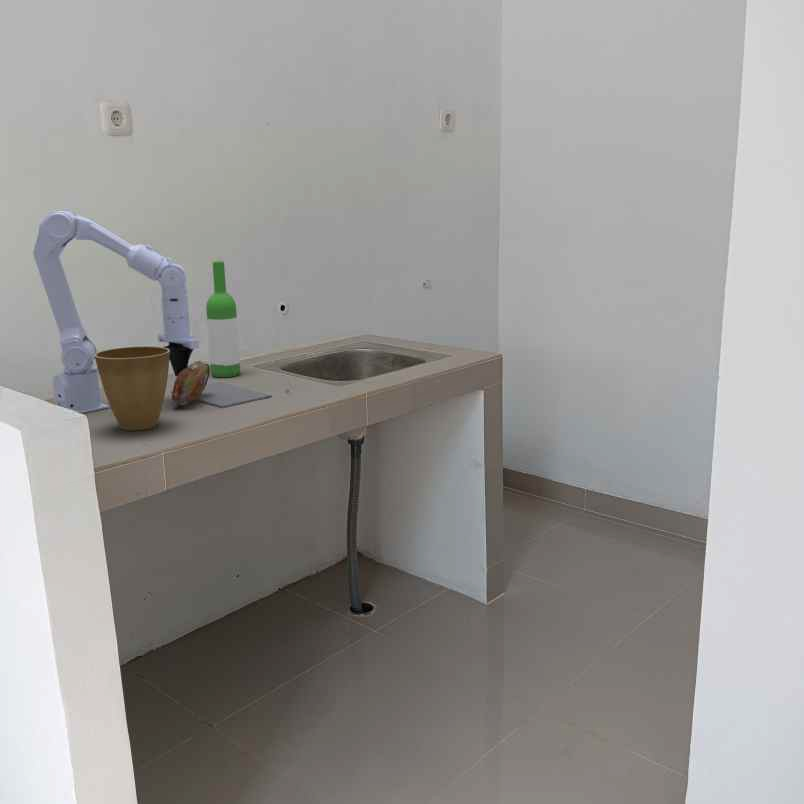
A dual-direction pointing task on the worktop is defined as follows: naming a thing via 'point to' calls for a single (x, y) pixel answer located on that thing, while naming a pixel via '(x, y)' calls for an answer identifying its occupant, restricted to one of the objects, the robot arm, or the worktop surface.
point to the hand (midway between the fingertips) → (180, 375)
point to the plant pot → (134, 384)
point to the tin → (190, 383)
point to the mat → (228, 395)
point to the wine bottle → (222, 327)
